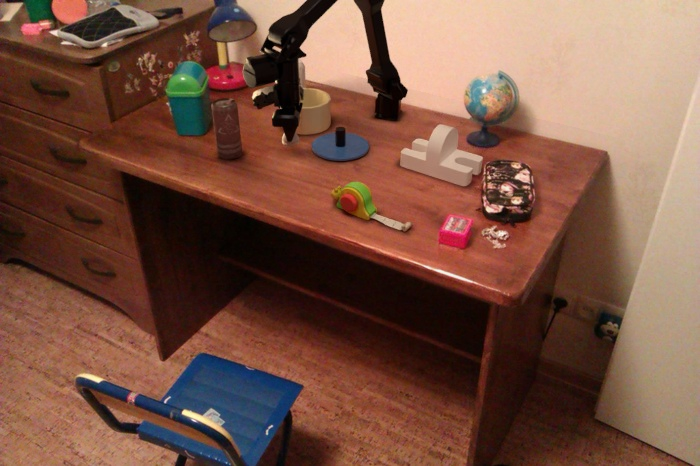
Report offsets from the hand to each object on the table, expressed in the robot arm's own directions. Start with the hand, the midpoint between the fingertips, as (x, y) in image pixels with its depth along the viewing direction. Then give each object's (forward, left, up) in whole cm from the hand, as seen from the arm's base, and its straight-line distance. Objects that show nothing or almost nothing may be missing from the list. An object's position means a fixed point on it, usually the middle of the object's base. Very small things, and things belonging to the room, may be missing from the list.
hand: (290, 137), depth 152 cm
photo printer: (+13, -32, -3) cm, 35 cm away
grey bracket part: (-38, -3, -3) cm, 38 cm away
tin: (+2, -15, -3) cm, 15 cm away
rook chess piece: (0, 0, -2) cm, 2 cm away
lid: (-12, -4, -3) cm, 13 cm away
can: (+13, +8, -3) cm, 16 cm away
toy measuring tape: (-28, +23, -3) cm, 36 cm away
